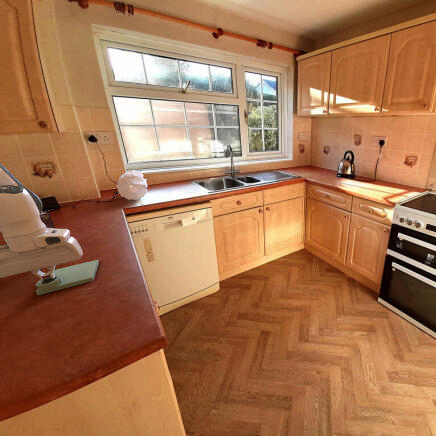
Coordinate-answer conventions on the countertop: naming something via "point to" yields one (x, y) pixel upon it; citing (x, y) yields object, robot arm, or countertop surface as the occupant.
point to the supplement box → (47, 220)
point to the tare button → (48, 281)
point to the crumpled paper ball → (132, 185)
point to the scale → (69, 277)
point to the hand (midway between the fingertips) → (48, 278)
